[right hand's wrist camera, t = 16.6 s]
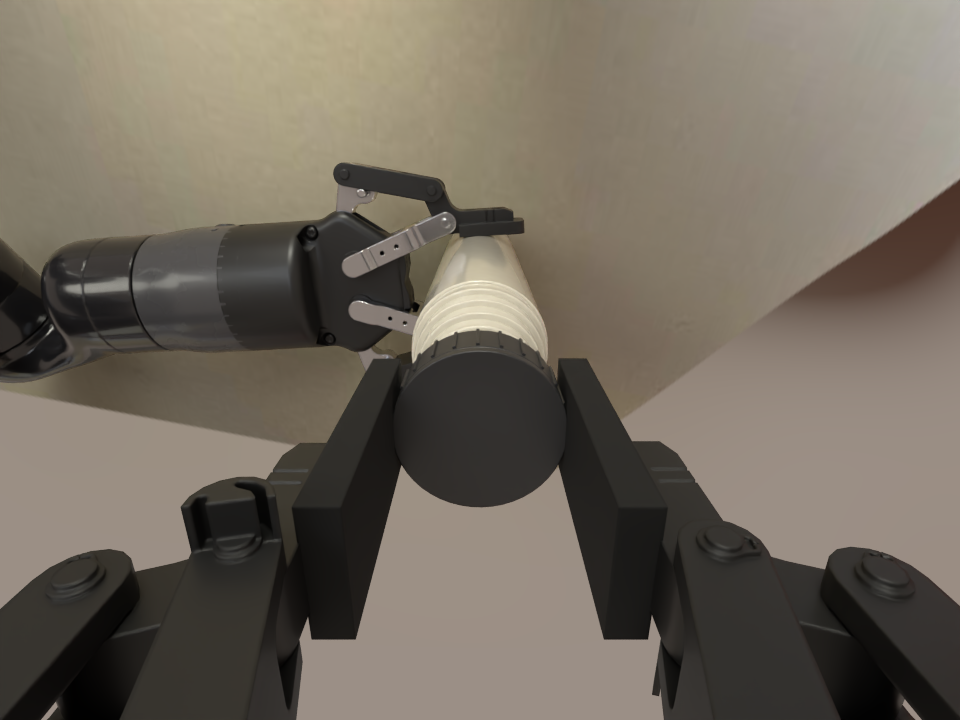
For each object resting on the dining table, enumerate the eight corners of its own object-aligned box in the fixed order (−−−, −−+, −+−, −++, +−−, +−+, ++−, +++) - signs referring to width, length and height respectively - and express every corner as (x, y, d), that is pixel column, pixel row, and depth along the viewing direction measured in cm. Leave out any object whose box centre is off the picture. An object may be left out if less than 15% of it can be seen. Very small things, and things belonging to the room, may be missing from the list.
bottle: (445, 221, 36) (378, 329, 12) (515, 222, 36) (584, 332, 13) (445, 291, 38) (388, 502, 14) (513, 292, 38) (568, 504, 14)
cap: (546, 480, 15) (554, 516, 14) (395, 466, 15) (385, 500, 14) (572, 337, 14) (585, 359, 12) (404, 319, 14) (394, 339, 12)
